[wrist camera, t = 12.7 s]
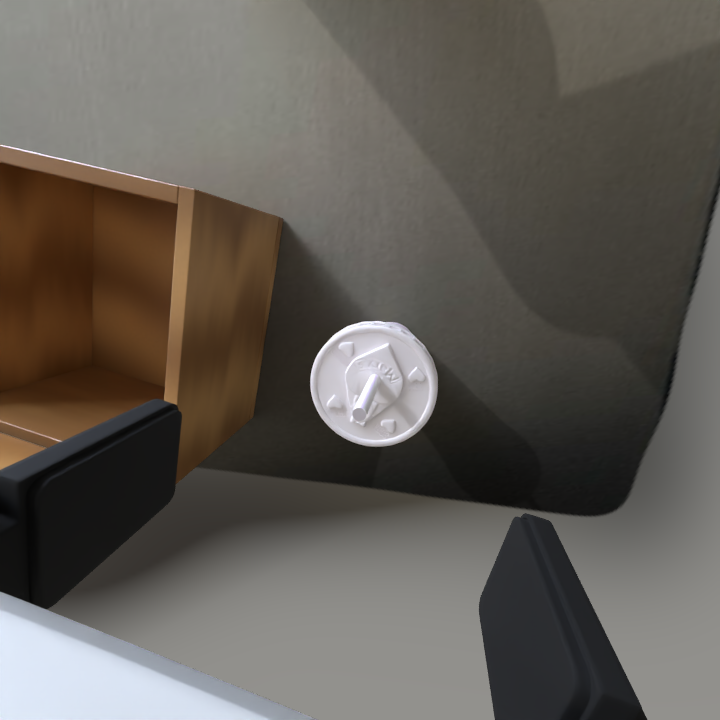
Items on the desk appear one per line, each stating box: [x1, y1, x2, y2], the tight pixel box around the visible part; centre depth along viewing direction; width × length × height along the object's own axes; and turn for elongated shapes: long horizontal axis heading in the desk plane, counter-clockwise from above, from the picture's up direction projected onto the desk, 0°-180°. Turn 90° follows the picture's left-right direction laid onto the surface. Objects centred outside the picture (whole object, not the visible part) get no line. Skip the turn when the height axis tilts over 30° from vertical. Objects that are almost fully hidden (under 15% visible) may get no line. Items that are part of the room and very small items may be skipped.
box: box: [0, 144, 283, 484], centre depth 24 cm, size 16×16×10 cm
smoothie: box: [310, 321, 438, 447], centre depth 20 cm, size 6×6×14 cm
